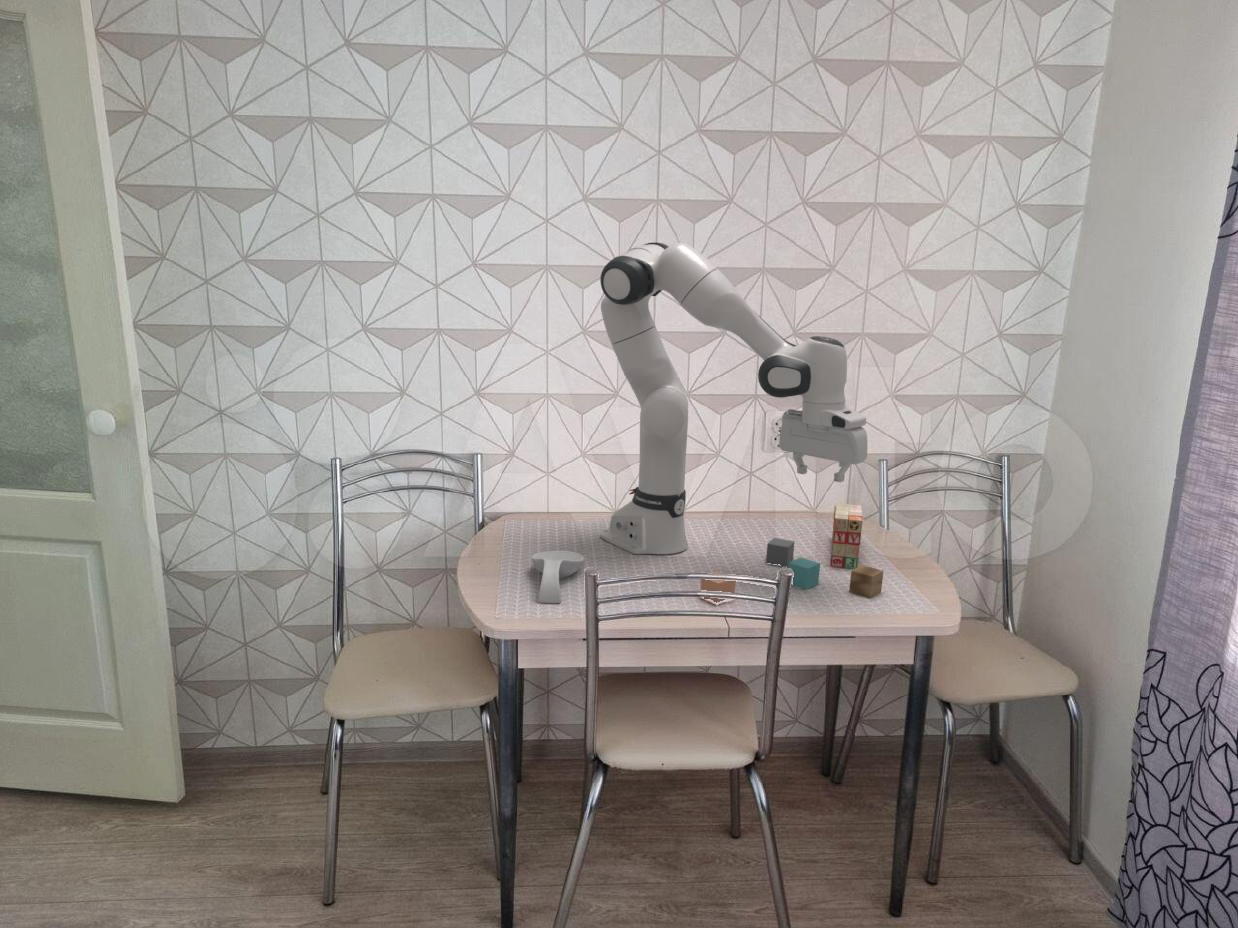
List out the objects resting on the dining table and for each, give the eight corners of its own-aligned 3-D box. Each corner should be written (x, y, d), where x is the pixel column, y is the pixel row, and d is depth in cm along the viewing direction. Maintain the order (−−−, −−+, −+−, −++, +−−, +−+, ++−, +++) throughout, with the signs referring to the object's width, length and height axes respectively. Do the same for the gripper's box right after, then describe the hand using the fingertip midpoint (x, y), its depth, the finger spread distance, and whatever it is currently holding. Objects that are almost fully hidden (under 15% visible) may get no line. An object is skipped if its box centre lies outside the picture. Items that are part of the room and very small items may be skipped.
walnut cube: (849, 592, 195) (851, 570, 194) (860, 586, 199) (862, 564, 197) (870, 598, 192) (872, 576, 190) (881, 592, 195) (883, 570, 194)
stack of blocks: (831, 538, 230) (835, 492, 227) (856, 541, 228) (861, 495, 225) (829, 567, 209) (834, 517, 206) (857, 570, 208) (862, 519, 205)
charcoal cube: (765, 563, 210) (767, 543, 209) (772, 557, 215) (774, 537, 213) (786, 567, 208) (788, 547, 207) (792, 561, 212) (794, 541, 211)
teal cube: (786, 583, 198) (788, 562, 197) (798, 578, 202) (800, 557, 201) (806, 590, 195) (808, 568, 194) (818, 584, 199) (820, 563, 197)
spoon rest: (533, 563, 206) (534, 533, 204) (584, 564, 206) (585, 535, 204) (522, 604, 183) (522, 571, 181) (579, 606, 183) (580, 573, 181)
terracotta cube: (700, 598, 189) (701, 575, 188) (717, 593, 192) (718, 571, 191) (716, 606, 185) (718, 583, 184) (733, 600, 188) (735, 578, 187)
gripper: (774, 409, 196) (772, 471, 199) (856, 422, 181) (852, 488, 184) (791, 406, 200) (789, 466, 203) (873, 418, 185) (869, 483, 189)
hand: (820, 477), depth 194 cm, fingers open, 8 cm apart
